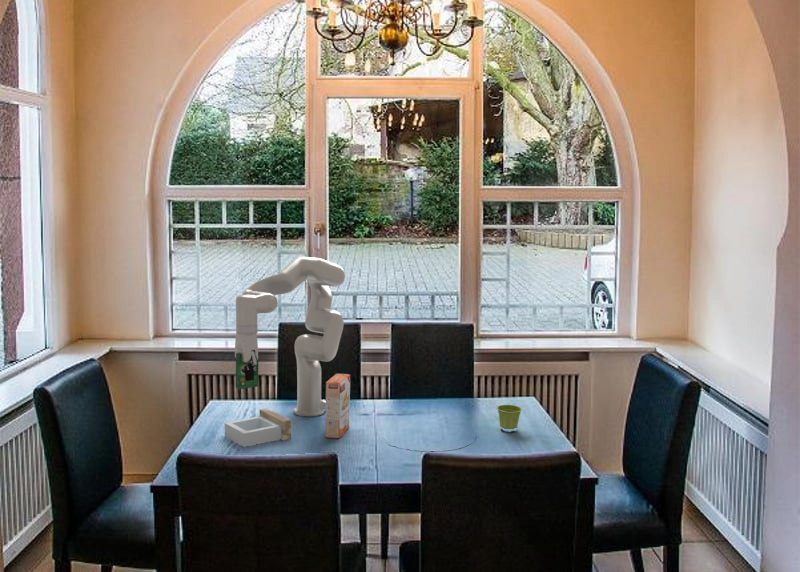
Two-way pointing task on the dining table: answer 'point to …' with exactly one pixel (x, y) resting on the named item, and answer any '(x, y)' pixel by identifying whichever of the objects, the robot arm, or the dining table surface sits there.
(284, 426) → the wall
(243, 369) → the coffee box
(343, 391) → the cracker box
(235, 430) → the open-top box
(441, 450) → the dining table surface
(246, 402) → the dining table surface
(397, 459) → the dining table surface
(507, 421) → the plant pot
